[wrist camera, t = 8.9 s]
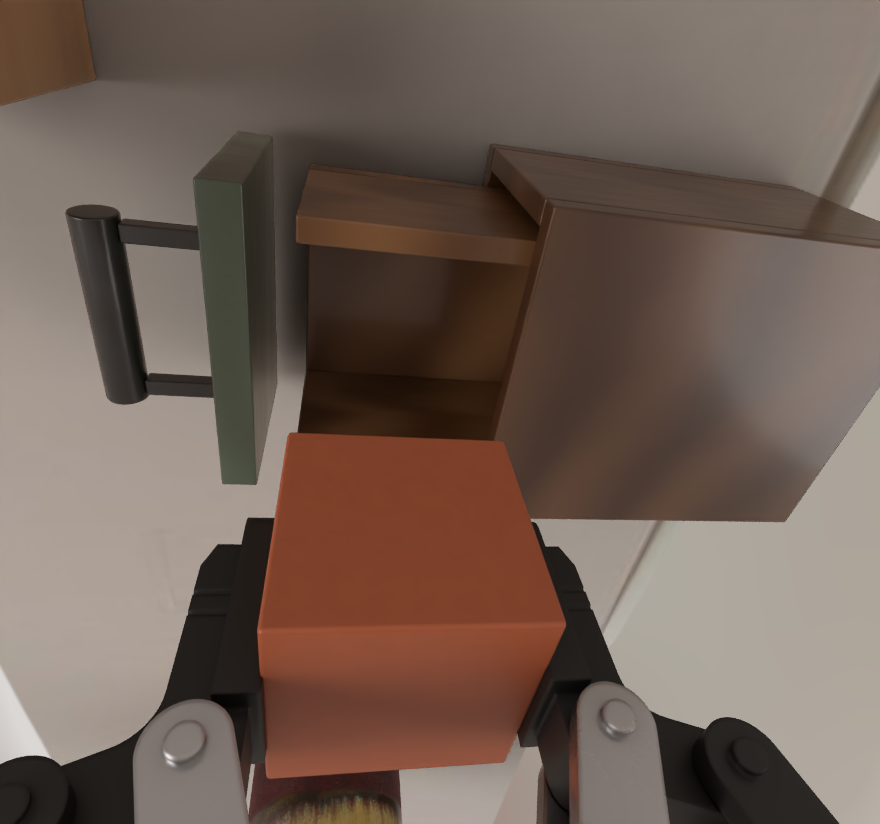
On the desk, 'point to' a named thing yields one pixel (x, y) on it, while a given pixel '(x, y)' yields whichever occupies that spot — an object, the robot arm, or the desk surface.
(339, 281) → the drawer
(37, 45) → the stand
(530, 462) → the cabinet
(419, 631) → the block
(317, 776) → the vase
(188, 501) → the desk surface
